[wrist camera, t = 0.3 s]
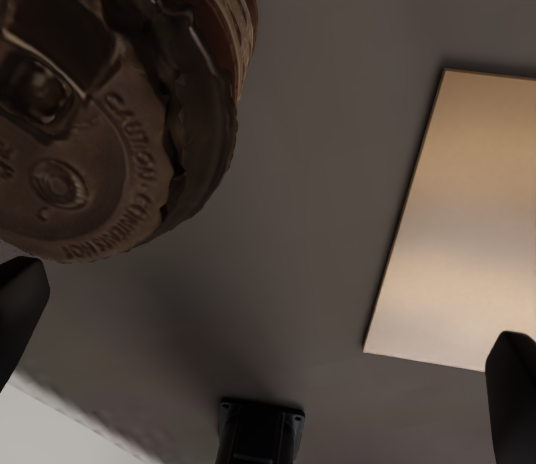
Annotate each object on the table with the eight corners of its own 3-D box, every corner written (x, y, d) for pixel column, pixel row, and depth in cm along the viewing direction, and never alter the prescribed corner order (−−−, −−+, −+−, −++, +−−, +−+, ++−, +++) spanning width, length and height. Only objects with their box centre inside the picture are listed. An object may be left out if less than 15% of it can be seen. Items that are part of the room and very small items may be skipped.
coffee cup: (272, -132, 17) (135, -191, 6) (304, 94, 21) (258, 282, 11) (61, -79, 19) (-314, -55, 8) (132, 118, 23) (-50, 296, 13)
